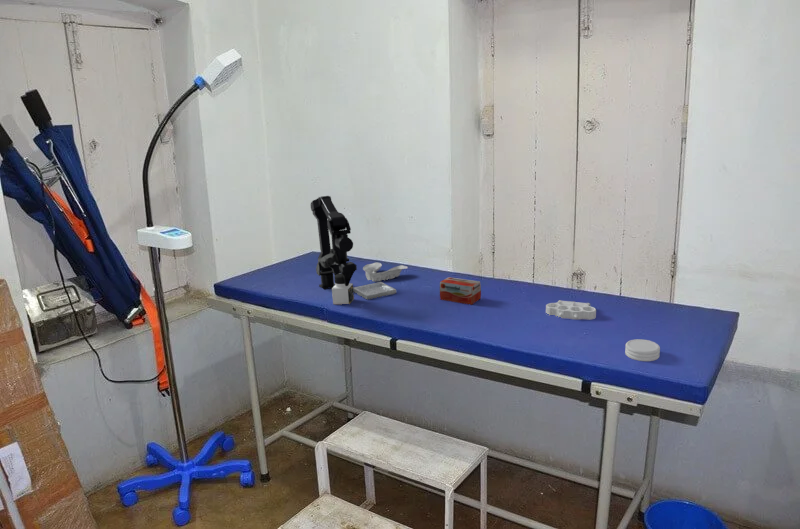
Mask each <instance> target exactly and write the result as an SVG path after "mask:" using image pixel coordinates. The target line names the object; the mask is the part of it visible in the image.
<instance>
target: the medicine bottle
mask: <svg viewBox="0 0 800 529" xmlns="http://www.w3.org/2000/svg"><path fill="white" fill-rule="evenodd" d="M333 276H334V275H333ZM334 284H335V286H334V287H332V288H331V294H332V305H342V304H349V305H350V304H351V303H352V302H353V301H354V299H355V296H354V295H355V294H354V293H355V292H353V288H354V284H353V283H351V282H349V285H348V286H345V282H344V278H343V274H342V273H339V274H336V275H335V276H334Z"/></svg>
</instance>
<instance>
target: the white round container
mask: <svg viewBox="0 0 800 529" xmlns="http://www.w3.org/2000/svg"><path fill="white" fill-rule="evenodd" d="M624 349H625V351H624V355H625V356H626V357H628V358H629V359H632V360H634V361H639V362H653V361H657V360H659V358H660V357H661V356H660V353H661V351H660V350H661V347H660V345H659V344H658V343H657V342H655V341H653V340H649V339H637V338H636V339H630V340H628V341H627V342H626V343H625V348H624Z"/></svg>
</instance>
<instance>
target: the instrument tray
mask: <svg viewBox="0 0 800 529" xmlns="http://www.w3.org/2000/svg"><path fill="white" fill-rule="evenodd" d="M353 293H355V294H356V293H357V295H358V296H359V297H361V296H362V297H361V298H363V299H365V300H366V299H367V301H369V300H373V298H374V299H377V297H378V298H382V296H383V297H386V296H392V295H395V294H397V289H396V288H394V287H392V286H390V285H388V284H387V283H384V281H383V282H382V281H377V282H373V283H369V284H363V285H360V286H355V287H354V286H353ZM368 299H369V300H368Z"/></svg>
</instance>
